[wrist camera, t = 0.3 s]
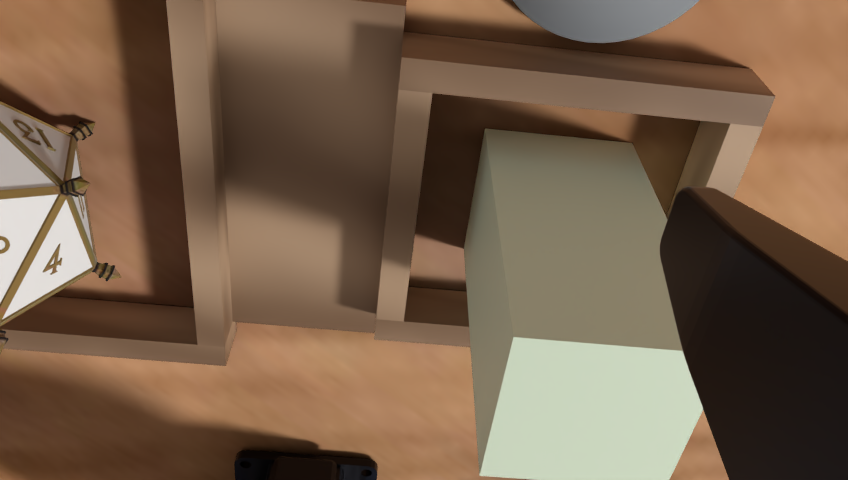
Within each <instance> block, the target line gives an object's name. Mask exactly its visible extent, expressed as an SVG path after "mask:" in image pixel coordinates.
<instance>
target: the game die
mask: <svg viewBox="0 0 848 480" xmlns="http://www.w3.org/2000/svg"><path fill="white" fill-rule="evenodd" d="M94 125H95V122H93V123H82V122H79V125H77V126H73V127H74V129H73V130H72V132H71V133H67V132H65V131H63V130H61V129H58V128H56V127H54V126H52V125H50V124H48V123H46V122H44V121H41V120H39V119H37V118H35V117H33V116H31V115H29V114H26V113H24V112H22V111H20V110H18V109H16V108H14V107H12V106H9V105H7V104H5V103H3V102H1V101H0V326H2V325H4V324H5V323H7V322H9V321H10V320H12V319H14V318H15V317H17V316H19V315H20V314H22V313H24V312H25V311H27V310H29V309H30V308H32V307H34V306H35V305H37V304H39V303H40V302H42V301H44V300H46V299H47V298H49V297H51V296H52V295H54V294H56V293H57V292H59V291H61V290H62V289H64V288H66V287H67V286H69V285H71V284H72V283H74V282H76V281H77V280H79V279H81V278H82V277H84V276H86V275H87V274H89V273H91V272H95V273H96V274H98V275H99V278H101V277H103V278H105V279H106V281H108V280H109V279H115V278H120V277H121V276H120V274H119V273H118V271H117V270H116V269H115V266H114V265H113V266H110V265H108V263H104V264H101V263H98V262H97V258H96V252H95V246H94V240H93V234H92V228H91V222H90V216H89V210H88V205H87V199H86V193H85V192H86V190H87V188H88V186H89V185H90V183H89V182H87V181H85V180H84V179H83V175H82V169H81V163H80V157H79V151H78V145H77V141H78V140H81V139H82V140H84V139H85V138H87V137H86V136H90V135H92V134H93V133H92V130H93V128H94ZM5 333H6V331H3V330H2V329H1V328H0V354H1V351H2V349H3V347H4V345H5V344H6V342H7V341H8V340H9V339H8V338H6V337H5Z"/></svg>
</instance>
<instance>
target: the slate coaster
mask: <svg viewBox="0 0 848 480" xmlns="http://www.w3.org/2000/svg"><path fill="white" fill-rule="evenodd" d="M698 1H699V0H513V2H514V3H515V4H516V5H517V6H518V7H519V9H520V10H521V11H522V12H523V13H524V14H525V15H527V16H528V17H529V18H530V19H531V20H532V21H534V22H535V23H537V24H538V25H540V26H541V27H543V28H544V29H546V30H548V31H550V32H552V33H554V34H556V35H559V36H562V37H565V38H568V39H571V40H576V41H582V42H589V43H609V42H619V41H624V40H629V39H634V38H637V37H640V36H643V35H646V34H649V33H651V32H653V31H655V30H657V29H659V28H662V27H664V26H665V25H667V24H669V23H670V22H672V21H674V20H675V19H677V18H678V17H680V16H681V15H682V14H684V13H685V12H686V11H688V10H689V9H690V8H692V7H693V6H694V5H695V4H696V3H697V2H698Z"/></svg>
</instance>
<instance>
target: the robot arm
mask: <svg viewBox="0 0 848 480" xmlns="http://www.w3.org/2000/svg"><path fill="white" fill-rule="evenodd" d="M660 258H661V263H662V267H663V271H664V276H665V280H666V284H667V288H668V293H669V297H670V301H671V305H672V310H673V314H674V318H675V323H676V327H677V331H678V335H679V339H680V343H681V347H682V350H683V354H684V357H685V360H686V363H687V366H688V369H689V372H690V374H691V377H692V380H693V382H694V385H695V388H696V391H697V393H698V396H699V399H700V401H701V404H702V407H703V410H704V412H705V415H706V418H707V420H708V423H709V426H710V429H711V431H712V434H713V437H714V439H715V442H716V445H717V448H718V450H719V453H720V456H721V458H722V461H723V464H724V467H725V469H726V472H727V475H728V477H729V480H848V261H846V260H844V259H842V258H841V257H839V256H837V255H835V254H833V253H832V252H830V251H828V250H826V249H824V248H823V247H821V246H819V245H817V244H815V243H813V242H812V241H810V240H808V239H806V238H804V237H803V236H801V235H799V234H797V233H795V232H794V231H792V230H790V229H788V228H786V227H784V226H783V225H781V224H779V223H777V222H775V221H774V220H772V219H770V218H768V217H766V216H765V215H763V214H761V213H759V212H757V211H755V210H754V209H752V208H750V207H748V206H746V205H745V204H743V203H741V202H739V201H737V200H736V199H734V198H732V197H730V196H728V195H726V194H725V193H723V192H721V191H719V190H717V189H715V188H710V187H691V186H688V187H684V188H682V189H681V190H679V192H678V193H677V195H676V197H675V199H674V202H673V205H672V208H671V211H670V214H669V217H668V220H667V223H666V226H665V229H664V232H663V234H662V238H661V242H660ZM377 468H378V466H377V463H376V462H375V461H373V460H370V459H360V458H346V457H332V456H318V455H304V454H290V453H276V452H262V451H247V450H246V451H241V452H239V453H238V454H237V456H236V460H235V480H377Z"/></svg>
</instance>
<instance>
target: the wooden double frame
mask: <svg viewBox="0 0 848 480" xmlns="http://www.w3.org/2000/svg"><path fill="white" fill-rule="evenodd" d="M166 5H167V16H168V27H169V38H170V49H171V60H172V71H173V82H174V93H175V104H176V115H177V125H178V136H179V147H180V158H181V169H182V180H183V191H184V202H185V213H186V224H187V235H188V246H189V257H190V268H191V279H192V290H193V300H194V308H189V307H177V306H165V305H153V304H140V303H128V302H116V301H104V300H92V299H80V298H68V297H56V296H51V297H49V298H47V299H46V300H44V301H42V302H40V303H39V304H37V305H35V306H34V307H32V308H30V309H29V310H27V311H25V312H24V313H22V314H20V315H19V316H17V317H15V318H14V319H12V320H10V321H9V322H7V323H5V324H4V325H2V326H0V328H1V329H2V330H3V331H6V333H5V337H6V338H8V339H9V340H8V341H7V342H6V344H5V345H4V347H3V349H14V350H27V351H40V352H52V353H65V354H78V355H91V356H104V357H117V358H130V359H142V360H155V361H168V362H181V363H194V364H207V365H219V366H226V364H227V361H228V357H229V354H230V351H231V347H232V344H233V341H234V337H235V334H236V330H237V327H236V322H243V323H255V324H268V325H280V326H292V327H305V328H317V329H329V330H341V331H354V332H366V333H374V332H375V336H374V339H375V340H388V341H400V342H412V343H425V344H437V345H450V346H462V347H471V345H470V331H469V316H468V302H467V292H465V291H453V290H441V289H430V288H418V287H408V284H409V276H410V268H411V260H412V252H413V244H414V236H415V228H416V220H417V212H418V204H419V196H420V188H421V180H422V172H423V165H424V157H425V149H426V141H427V133H428V125H429V117H430V109H431V101H432V93H436V94H445V95H455V96H465V97H475V98H484V99H494V100H504V101H514V102H524V103H533V104H543V105H553V106H563V107H573V108H582V109H592V110H602V111H612V112H621V113H631V114H641V115H651V116H661V117H670V118H680V119H690V120H700V121H701V122H700V124H699V127H698V130H697V133H696V135H695V138H694V141H693V144H692V147H691V149H690V152H689V155H688V158H687V160H686V163H685V166H684V169H683V172H682V174H681V177H680V180H679V183H678V185H677V188H676V191H675V194H674V196H673V199H672V202H671V205H670V208H669V210H668V213H667V216H666V218H667V220H668V217H669V214H670V211H671V208H672V205H673V202H674V199H675V197H676V195H677V193H678V192H679V190H681V189H682V188H684V187H688V186H691V187H710V188H715V189H717V190H719V191H721V192H723V193H725V194H726V195H728V196H730V197H732V198H733V197H734V195H735V192H736V190H737V188H738V185H739V183H740V180H741V178H742V176H743V173H744V171H745V168H746V166H747V164H748V161H749V159H750V156H751V154H752V152H753V149H754V147H755V144H756V142H757V140H758V137H759V135H760V132H761V130H762V128H763V125H764V123H765V120H766V118H767V116H768V113H769V111H770V108H771V106H772V104H773V101H774V99H775V95H774V94H773V93H772V92H771V91H770V90H769V89H768V87H767V86H766V85H765V84H764V83H763V82H762V80H761V79H760V78H759V77H758V76H757V75H756V74H755V72H754V71H753V70H752V69H747V68H738V67H728V66H719V65H709V64H700V63H691V62H681V61H672V60H663V59H653V58H644V57H635V56H625V55H616V54H607V53H597V52H588V51H579V50H569V49H560V48H551V47H541V46H532V45H523V44H513V43H504V42H495V41H485V40H476V39H467V38H457V37H448V36H439V35H429V34H420V33H411V32H403V31H404V21H405V11H406V0H166ZM375 321H376V323H375Z"/></svg>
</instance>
